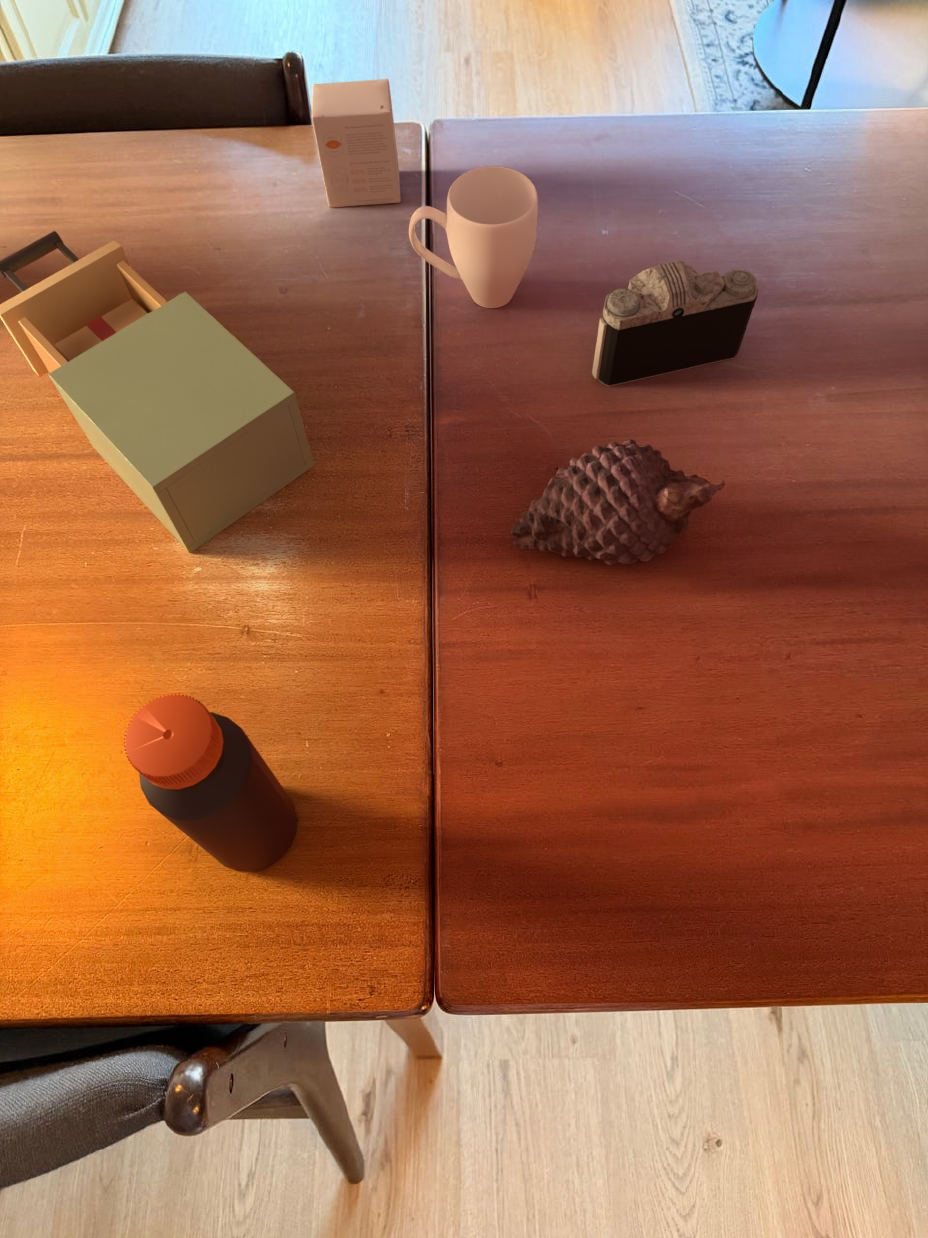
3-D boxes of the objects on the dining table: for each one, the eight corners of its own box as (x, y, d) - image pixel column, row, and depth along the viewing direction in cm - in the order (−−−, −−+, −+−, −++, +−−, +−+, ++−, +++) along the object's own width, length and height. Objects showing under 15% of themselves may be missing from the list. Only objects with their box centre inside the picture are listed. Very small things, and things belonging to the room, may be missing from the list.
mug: (531, 263, 93) (536, 163, 83) (534, 322, 90) (539, 225, 80) (416, 265, 94) (407, 166, 84) (413, 324, 90) (403, 227, 80)
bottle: (195, 864, 66) (87, 783, 48) (223, 776, 69) (131, 669, 51) (284, 881, 65) (208, 805, 47) (309, 791, 68) (245, 688, 50)
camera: (717, 308, 90) (742, 223, 81) (744, 358, 87) (773, 275, 78) (576, 339, 88) (586, 256, 80) (598, 391, 85) (611, 310, 77)
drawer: (-4, 330, 90) (-45, 266, 83) (105, 267, 93) (74, 201, 86) (114, 459, 82) (79, 400, 75) (227, 385, 86) (204, 323, 79)
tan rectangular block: (71, 375, 85) (53, 343, 81) (146, 330, 88) (131, 297, 84) (90, 395, 84) (72, 364, 80) (165, 348, 86) (151, 316, 83)
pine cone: (527, 611, 75) (492, 507, 70) (525, 552, 83) (494, 455, 78) (743, 559, 71) (724, 445, 66) (719, 502, 79) (700, 397, 74)
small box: (399, 170, 101) (390, 76, 91) (401, 204, 98) (392, 111, 89) (327, 174, 101) (311, 81, 91) (327, 208, 98) (310, 116, 89)
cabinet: (93, 447, 84) (47, 373, 75) (215, 369, 88) (185, 290, 79) (189, 553, 78) (152, 487, 70) (315, 465, 82) (294, 391, 74)
